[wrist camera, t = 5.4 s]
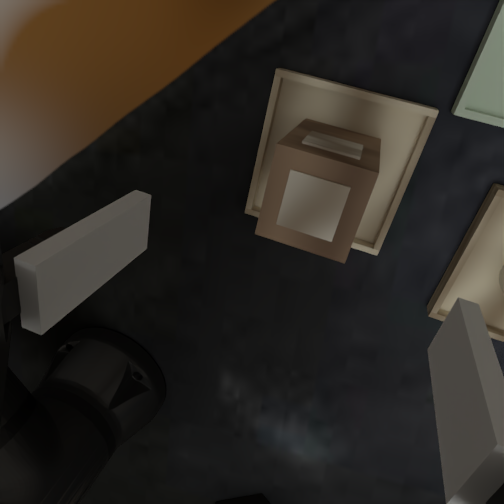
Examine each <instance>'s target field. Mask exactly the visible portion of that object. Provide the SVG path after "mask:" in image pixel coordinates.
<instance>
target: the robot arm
mask: <svg viewBox="0 0 504 504" xmlns="http://www.w3.org/2000/svg"><path fill="white" fill-rule="evenodd" d="M150 204H151V195H150V194H147V193H144V192H141V191H138V190H134V191H133V192H131V193H129V194H127V195H126V196H124V197H122V198H120V199H118V200H117V201H115V202H113V203H111V204H109V205H108V206H106V207H104V208H102V209H100V210H99V211H97V212H95V213H93V214H91V215H90V216H88V217H86V218H84V219H82V220H81V221H79V222H77V223H75V224H73V225H72V226H70V227H68V228H64V227H58V228H54V229H50V230H47V231H45V232H43V233H41V234H39V235H37V236H36V238H35V237H34V238H32V239H30V240H28V241H27V242H24V243H22V244H20V245H18V246H17V247H15V248H13V249H11V250H9V251H7V252H5V253H3V254H2V252H1V245H0V504H80V503H81V501H82V500H83V498H84V497H85V495H86V494H87V492H88V491H89V489H90V488H91V486H92V484H93V483H94V481H95V480H96V478H97V477H98V475H99V474H100V472H101V471H102V469H103V468H104V466H105V465H106V463H107V462H108V460H109V459H110V457H111V456H112V455H113V453H114V452H115V450H116V449H117V448H118V447H119V446H120V445H122V444H123V443H124V442H125V441H127V440H128V439H129V438H130V437H132V436H133V435H134V434H135V433H137V432H138V431H139V430H140V429H142V428H143V427H144V426H145V425H147V424H148V423H149V422H150V421H151V420H152V419H153V418H154V417H155V415H156V414H157V412H158V410H159V409H160V407H161V406H162V404H163V402H164V399H165V395H166V387H165V382H164V378H163V376H162V373H161V371H160V369H159V368H158V366H157V364H156V363H155V361H154V360H153V359H152V358H151V356H150V355H149V354H148V353H147V352H146V351H145V350H144V349H143V348H141V347H140V346H139V345H138V344H137V343H135V342H134V341H132V340H131V339H129V338H127V337H126V336H124V335H122V334H120V333H117V332H115V331H112V330H108V329H104V328H94V327H93V328H85V329H82V330H79V331H77V332H75V333H74V334H73V335H72V336H71V337H70V338H69V339H67V340H66V341H65V342H64V343H63V344H62V345H61V346H60V348H59V349H58V351H57V352H56V354H55V356H54V358H53V360H52V362H51V364H50V365H49V367H48V369H47V371H46V373H45V375H44V377H43V378H42V380H41V382H40V384H39V386H38V387H37V388H36V389H35V391H34V392H33V393H30V392H29V391H28V390H27V388H26V387H25V386H24V385H23V384H22V383H21V381H20V380H19V379H18V378H17V377H16V376H15V374H14V373H13V372H12V371H11V370H10V368H9V367H8V366H7V365H8V357H9V348H10V339H11V330H12V326H11V320H12V319H13V318H15V317H16V316H17V315H19V314H20V315H21V324H22V327H23V328H25V329H28V330H30V331H32V332H35V333H37V334H40V335H42V334H44V333H45V332H46V331H47V330H49V329H50V328H51V327H52V326H53V325H55V324H56V323H57V322H58V321H59V320H61V319H62V318H63V317H64V316H66V315H67V314H68V313H69V312H70V311H72V310H73V309H74V308H75V307H77V306H78V305H79V304H80V303H81V302H83V301H84V300H85V299H86V298H87V297H89V296H90V295H91V294H92V293H94V292H95V291H96V290H97V289H98V288H100V287H101V286H102V285H103V284H104V283H106V282H107V281H108V280H109V279H111V278H112V277H113V276H114V275H115V274H117V273H118V272H119V271H120V270H121V269H123V268H124V267H125V266H126V265H128V264H129V263H130V262H131V261H132V260H134V259H135V258H136V257H137V256H139V255H140V254H141V253H142V252H143V251H145V250H146V249H147V241H148V229H149V216H150ZM428 357H429V365H430V373H431V382H432V390H433V398H434V406H435V415H436V423H437V431H438V439H439V448H440V456H441V464H442V472H443V481H444V489H445V497H446V504H504V377H503V374H502V371H501V368H500V365H499V362H498V359H497V356H496V353H495V350H494V347H493V345H492V342H491V339H490V336H489V333H488V330H487V327H486V324H485V321H484V318H483V315H482V312H481V309H480V306H479V304H477V303H474V302H471V301H468V300H465V299H462V298H459V297H458V298H457V300H456V302H455V303H454V305H453V307H452V308H451V310H450V312H449V314H448V315H447V317H446V319H445V320H444V322H443V324H442V325H441V327H440V329H439V331H438V332H437V334H436V336H435V337H434V339H433V341H432V342H431V344H430V346H429V348H428Z"/></svg>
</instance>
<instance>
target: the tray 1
mask: <svg viewBox="0 0 504 504" xmlns="http://www.w3.org/2000/svg"><path fill="white" fill-rule="evenodd" d="M438 113H439V110H438V109H437V108H434V107H430V106H427V105H423V104H419V103H415V102H411V101H407V100H403V99H399V98H396V97H392V96H388V95H384V94H380V93H376V92H372V91H369V90H365V89H361V88H357V87H353V86H349V85H345V84H342V83H338V82H334V81H330V80H326V79H322V78H318V77H315V76H311V75H307V74H303V73H299V72H295V71H291V70H287V69H284V68H277V69H276V71H275V76H274V81H273V85H272V90H271V94H270V99H269V104H268V108H267V113H266V117H265V122H264V126H263V131H262V136H261V140H260V145H259V149H258V154H257V159H256V163H255V168H254V172H253V177H252V181H251V186H250V191H249V195H248V200H247V204H246V209H245V213H246V214H249V215H252V216H256V217H259V214H260V210H261V206H262V202H263V197H264V193H265V189H266V185H267V181H268V176H269V172H270V168H271V164H272V160H273V156H274V151H275V147H276V143H277V142H279V141H280V140H281V139H282V138H283V137H285V136H286V135H287V134H288V133H289V132H290V131H292V130H293V129H294V128H295V127H296V126H298V125H299V124H300V123H301V122H302V121H303V120H305V119H306V118H307V119H311V120H314V121H318V122H322V123H325V124H329V125H332V126H336V127H340V128H343V129H347V130H351V131H354V132H358V133H361V134H365V135H369V136H372V137H376V138H379V139H381V150H380V169H379V175H378V178H377V180H376V183H375V186H374V188H373V191H372V193H371V196H370V199H369V201H368V204H367V206H366V209H365V212H364V214H363V217H362V219H361V222H360V225H359V227H358V230H357V232H356V235H355V238H354V240H353V243H352V245H351V248H355V249H358V250H361V251H364V252H367V253H370V254H373V255H376V256H377V255H378V253H379V250H380V248H381V246H382V243H383V241H384V239H385V236H386V234H387V232H388V229H389V227H390V225H391V222H392V220H393V218H394V215H395V213H396V211H397V208H398V206H399V204H400V201H401V199H402V197H403V194H404V192H405V190H406V187H407V185H408V183H409V180H410V178H411V176H412V173H413V171H414V169H415V166H416V164H417V162H418V159H419V157H420V155H421V152H422V150H423V148H424V145H425V143H426V141H427V138H428V136H429V134H430V131H431V129H432V127H433V124H434V122H435V120H436V117H437V115H438Z"/></svg>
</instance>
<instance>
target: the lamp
mask: <svg viewBox="0 0 504 504" xmlns="http://www.w3.org/2000/svg"><path fill="white" fill-rule="evenodd" d="M215 504H270V503H269V502H268V500H267V499H266V498H265V497H264V496H263V495H262V494H257V495H251V496H246V497H240V498H234V499H229V500H223V501H217V502H216V503H215Z"/></svg>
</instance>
